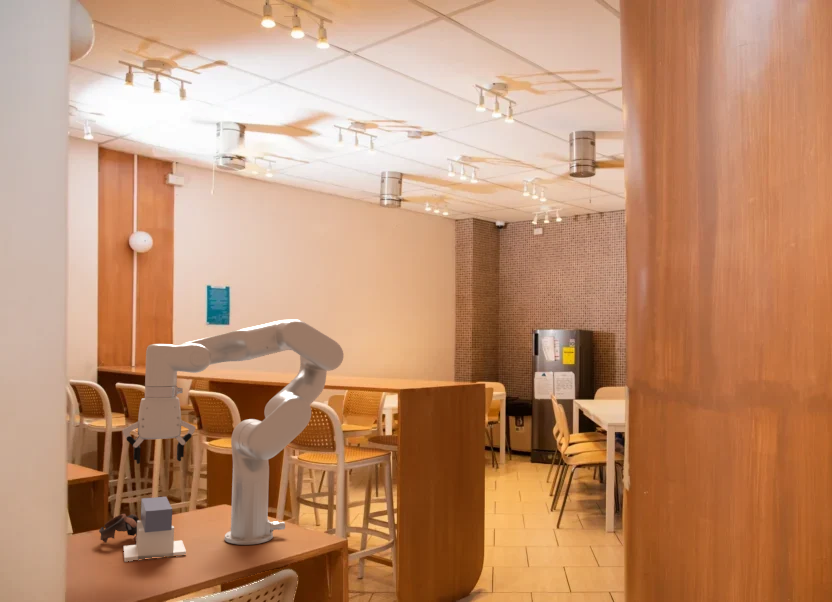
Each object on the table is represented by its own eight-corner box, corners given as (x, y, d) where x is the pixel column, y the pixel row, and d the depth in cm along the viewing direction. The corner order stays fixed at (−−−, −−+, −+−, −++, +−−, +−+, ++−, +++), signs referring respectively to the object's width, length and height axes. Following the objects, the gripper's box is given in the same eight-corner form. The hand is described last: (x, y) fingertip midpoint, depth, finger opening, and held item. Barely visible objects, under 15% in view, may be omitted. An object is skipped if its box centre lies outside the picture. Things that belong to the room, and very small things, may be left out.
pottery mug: (136, 550, 176) (119, 523, 175) (105, 565, 177) (88, 538, 176) (155, 525, 188) (139, 500, 187) (125, 539, 189) (110, 514, 188)
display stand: (181, 544, 181) (182, 516, 181) (186, 555, 171) (187, 526, 172) (123, 549, 175) (124, 521, 175) (124, 561, 166) (125, 532, 166)
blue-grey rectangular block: (165, 516, 181) (166, 496, 181) (171, 529, 169) (172, 509, 169) (140, 518, 179) (141, 498, 179) (145, 532, 166) (145, 511, 166)
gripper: (194, 391, 183) (192, 457, 182) (123, 392, 175) (120, 461, 175) (198, 393, 176) (196, 461, 175) (124, 395, 169) (121, 466, 168)
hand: (158, 461), depth 175 cm, fingers open, 9 cm apart
